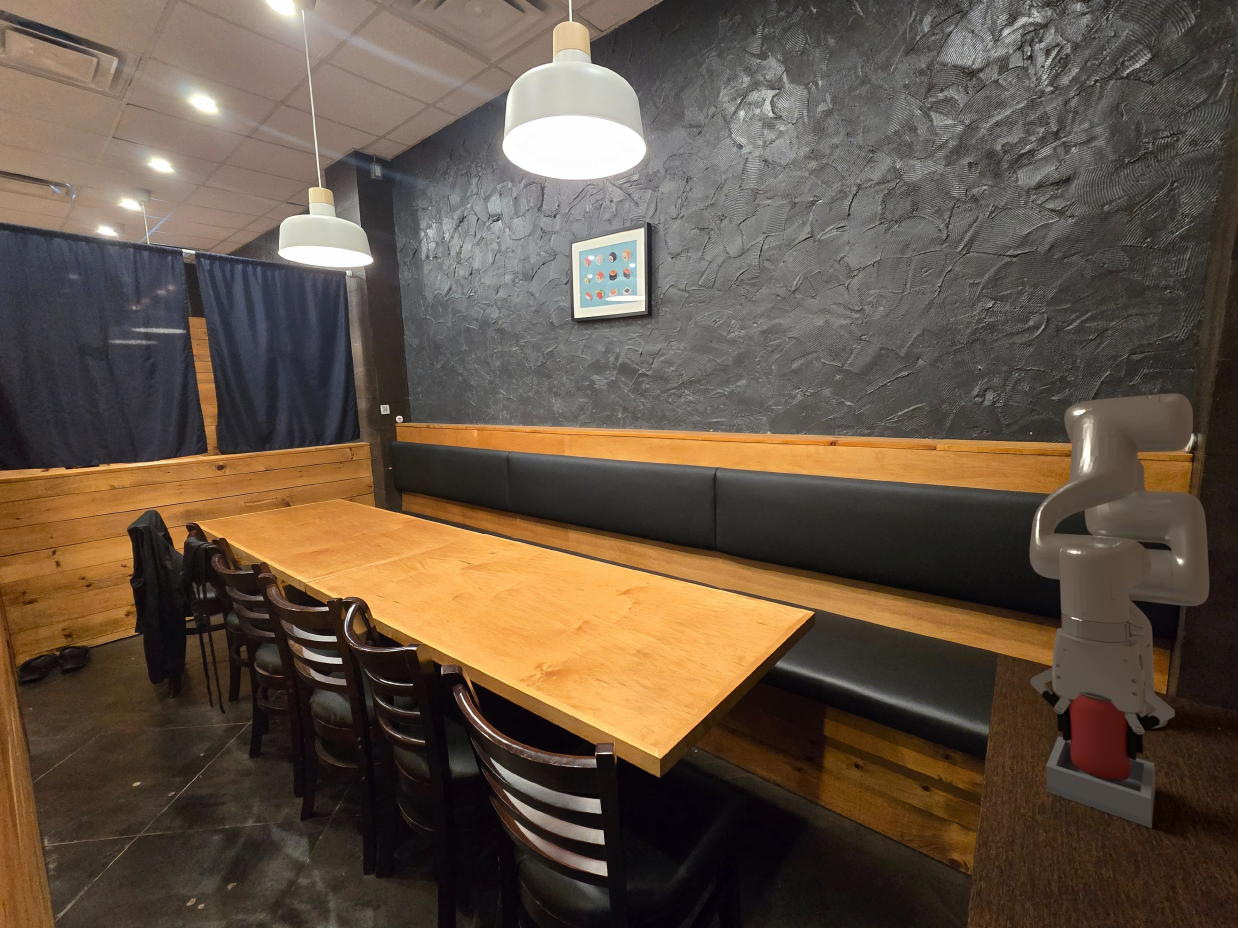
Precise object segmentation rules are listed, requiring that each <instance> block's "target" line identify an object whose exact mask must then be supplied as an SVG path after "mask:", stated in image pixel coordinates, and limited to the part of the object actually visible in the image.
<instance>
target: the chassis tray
mask: <svg viewBox="0 0 1238 928" xmlns="http://www.w3.org/2000/svg"><path fill="white" fill-rule="evenodd" d="M1130 766H1131V775H1130V777H1129V778H1128V779H1126V780H1123V781H1109V780H1104V779H1100V778H1096V777H1094V776H1091V775H1089V774H1087V773H1085V772H1083V771H1082V770H1080V769H1079V768H1077V767H1076V766H1075V765H1074V763H1073V762H1072V760H1071V744H1070V741H1064V740H1063V736H1059V735H1058V736H1057V738H1056V740H1055V744H1054V746H1053V749H1052V751H1051V753H1050V756H1049V758H1048V760H1047V763H1046V765H1045V772H1046V792H1047V793H1048V792H1049V793H1048V794H1051V795H1055V796H1058V797H1060V796H1061V798H1063V799H1066V800H1069V801H1072V802H1074V803H1077V804H1080V805H1083V806H1086V807H1090V808H1092V807H1093V808H1092V809H1094V808H1095V810H1097V811H1100V812H1103V813H1106V814H1108V815H1112V816H1115V817H1117V818H1120V817H1121V819H1124V820H1127V821H1129V822H1133V823H1135V824H1138V825H1142V826H1144V827H1147V828H1150V829H1152V828H1153V820H1154V819H1153V817H1154V807H1155V806H1154V805H1155V795H1156V793H1155V792H1156V778H1155V777H1156V776H1155V775H1156V773H1155V762H1152V761H1148V760H1145V759H1141V758H1137V757H1136V761H1135V760H1132V759H1131V758H1130Z"/></svg>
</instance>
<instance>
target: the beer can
mask: <svg viewBox="0 0 1238 928" xmlns="http://www.w3.org/2000/svg"><path fill="white" fill-rule="evenodd" d="M1080 694H1081V695H1080V696H1078V697H1077V698H1076V699H1075V700H1071V701H1070V704H1069V705H1068V707H1069V716H1070V744H1071V760H1072V762H1073V763H1074V765H1075V766H1076V767H1077V768H1079V769H1080V770H1082V771H1083V772H1085V773H1087V774H1089V775H1091V776H1094V777H1096V778H1100V779H1104V780H1109V781H1123V780H1126V779H1128V778H1129V777H1130V775H1131V766H1130V758H1129V750H1128V729H1129V723H1128V721H1127V719H1126V718H1125V714H1124V712H1121V711H1119V710H1118V709H1117V708H1116V707H1115V706H1114V704H1113V703H1112V702H1111V701H1112V700H1111V699H1108V698H1100V697H1095V696H1091V695H1088V694H1085V693H1082V692H1080Z"/></svg>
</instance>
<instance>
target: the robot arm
mask: <svg viewBox="0 0 1238 928" xmlns="http://www.w3.org/2000/svg"><path fill="white" fill-rule="evenodd" d="M1193 416H1194V412H1193V407H1192V404H1191V403H1190V400H1189V399H1188V398H1187V397H1186V396H1185V395H1183V394H1181V393H1159V394H1158V393H1157V394H1148V395H1136V396H1123V397H1111V398H1097V399H1092V400H1086V401H1082V402H1077V403H1075V404H1073V405H1071V406H1069V407H1068V408H1066V410H1065V413H1064V416H1063V417H1064V425H1065V430H1066V432H1067V436H1068V438H1069V440H1070V443H1071V456H1070V457H1071V458H1070V468H1069V471H1070V472H1069V479H1068V481H1067V482H1065V483H1064V484H1063V485H1060V486H1059V487H1058V488H1057V489H1055V490H1054V491H1053V492H1052V493H1050V494H1049V495H1048V496H1047V497H1046V498H1045V499H1044V500H1043V501H1042V503H1041V504H1040V505H1039V507H1038V508H1037V509H1036V511H1035V514H1034V517H1033V520H1032V525H1031V534H1030V542H1029V544H1030V545H1029V561H1030V565H1031V567H1032V569H1033V571H1034V572H1035V573H1036V574H1038V575H1039V576H1041V577H1044V578H1048V579H1053V580H1059V581H1060V582H1059V583H1060V584H1059V587H1060V589H1059V590H1060V610H1061V611H1060V613H1061V615H1060V617H1061V627H1059V628H1057V630H1056V633H1055V637H1054V644H1053V650H1052V665H1051V668H1048V669H1047V670H1044V671H1042V672H1040V673H1039V674H1036V675H1035V676H1032V677H1031V678H1030V681H1029V684H1031V686H1032V688H1034V689H1035V690H1036V691H1037V692H1038V693H1039V694H1040V695H1041V696H1042V698H1043V700H1045V701H1046V702H1047V703H1048V704H1049V705H1050V706H1051V707H1052V708H1053V711H1054V712H1055V713H1056V716H1057V717H1056V719H1057V731H1058V732H1059V733H1060V732H1061V733H1062V737H1063V740H1064V741H1070V716H1069V704H1070V701H1071V700H1075V699H1076V698H1077V697H1078V696H1080V695H1081V694H1080V692H1082V693H1085V694H1088V695H1091V696H1095V697H1100V698H1108V699H1111V700H1112V701H1111V702H1112V703H1113V704H1114V706H1115V707H1116V708H1117V709H1118V710H1119V711H1121V712H1124V714H1125V718H1126V719H1127V721H1128V723H1129V729H1128V750H1129V758H1131V759H1132V760H1135V761H1136V758H1137V755H1138V754H1141V755H1143V754H1144V734H1145V733H1146V732H1147V731H1148V730H1151V729H1159V728H1162V727H1163V728H1164V726H1166V725H1168V722H1169V721H1168V720H1170V719H1172V718H1174V717H1175V716H1176V711H1175V709H1174V708H1173V707H1172V706H1171V705H1169V704H1168V703H1167V702H1165V701H1164V700H1163V699H1162V698H1161V697H1160V696H1159V695H1157V694H1156V693H1155V676H1154V674H1155V673H1154V650H1153V649H1154V648H1153V647H1154V646H1153V643H1154V642H1153V641H1154V640H1153V629H1152V628H1153V627H1152V623H1151V621H1150V620H1149V619H1148V617H1147V616H1146V614H1144V611H1142V610H1141V609H1140V608H1139V607H1138V606H1137V605H1136V604H1135V602H1133V601H1139V602H1141V601H1142V602H1148V603H1149V602H1150V603H1156V604H1157V603H1158V604H1166V605H1173V606H1175V605H1176V606H1183V607H1184V606H1185V607H1195V606H1199V605H1203V604H1204V603H1205V602H1206V601H1207V599H1208V597H1209V592H1210V572H1209V571H1210V569H1209V567H1210V566H1209V552H1208V551H1209V550H1208V549H1209V548H1208V533H1207V522H1206V514H1205V510H1204V507H1203V505H1202V502H1201V501H1200V500H1199V499H1198V498H1197V497H1196V496H1195V495H1193V494H1191V493H1188V492H1184V491H1183V492H1182V491H1170V490H1169V491H1168V490H1165V491H1164V490H1163V491H1162V490H1160V491H1159V490H1146V487H1145V485H1146V484H1145V467H1144V464H1143V463H1142V462H1141V461H1140V460H1139V458H1138V456H1139V455H1138V454H1139V453H1160V452H1161V453H1164V452H1165V453H1167V452H1168V453H1169V452H1179V451H1182V450H1184V449H1185V448H1186V447H1188V445H1189V443H1190V441H1191V439H1192V436H1193V429H1194V428H1193V427H1194V419H1193V418H1194V417H1193ZM1082 511H1084V520H1085V526H1086V529H1087V531H1088V533H1090V534H1091V535H1089V534H1088V535H1086V534H1073V533H1071V534H1070V533H1054V532H1055V530H1056V528H1057V526H1058V525H1059V523H1060V522H1062V521H1063V520H1065V519H1066V518H1068V517H1070V516H1071V515H1074V514H1075V513H1079V512H1082ZM1139 542H1141V543H1142V542H1143V543H1160V544H1164V545H1166V546H1168V547H1169V548H1170V549H1171V550H1168V549H1151V548H1146V547H1144V546H1143V544H1141V543H1139ZM1049 682H1051V685H1052V689H1050V688H1049V687H1048V686H1047V685H1046V684H1047V683H1049Z"/></svg>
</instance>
